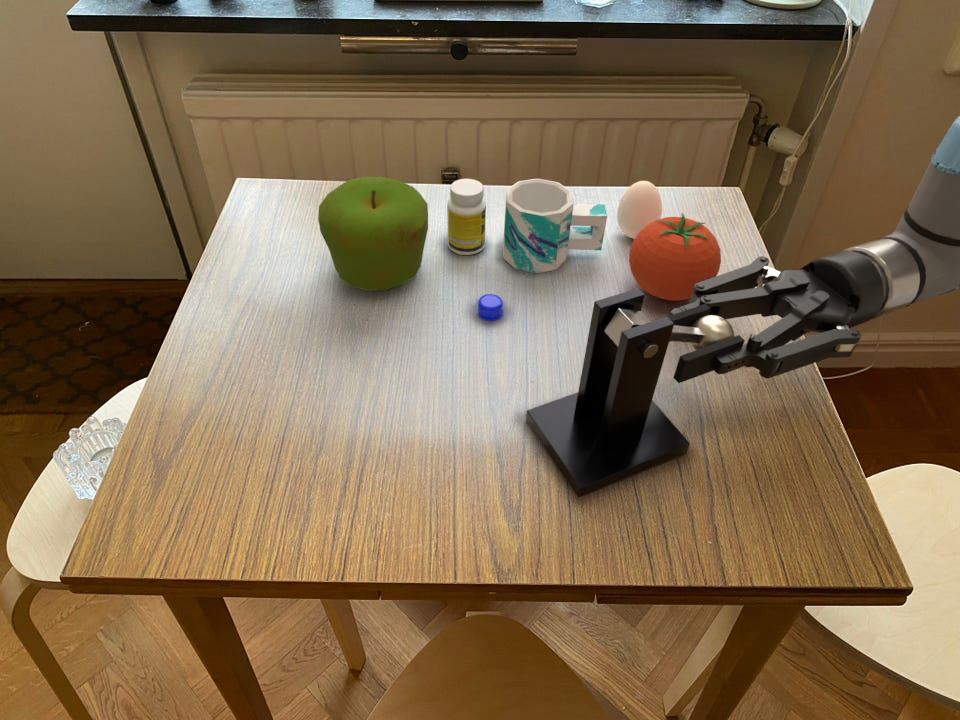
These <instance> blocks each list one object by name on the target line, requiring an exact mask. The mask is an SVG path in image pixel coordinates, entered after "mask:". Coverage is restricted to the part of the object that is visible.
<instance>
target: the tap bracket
mask: <svg viewBox="0 0 960 720" xmlns="http://www.w3.org/2000/svg"><path fill="white" fill-rule="evenodd" d="M645 296H646V294H645V293H644V292H643V291H642V290H641V289H640V288H639V287H637V288H634V289H631V290H628V291H624V292H621V293H618V294H614V295H611V296H608V297H605V298H601V299H598V300H595V301H594V303H593V308H592V313H591V319H590V325H589V328H588V329H589V330H588V334H587V335H588V336H587V341H586V347H585V352H584V357H583V362H582V363H583V364H582V369H581V374H580V380H579V385H578V391H577V392H575V393H573V394H570V395H569V394H568V395H567V396H563V397H561V398H557V399H556V400H555V399H554V400H553V401H550V402H547V403H544V404H541V405H538V406H536V407H533V408H530V409H527V410H526V414H525V421H526V423H527V424H528V426H529V427H530V429H531V430H532V431H533V433H534V435H535V436H536V437H537V439H538V441H539V442H540V443H541V445H542V446H543V448H544V450H545V451H546V452H547V453H548V455H549V456H550V458H551V459H552V461H553V462H554V464H555V465H556V467H557V468H558V469H559V471H560V473H561V474H562V475H563V477H564V478H565V480H566V481H567V483H568V485H569V486H570V487H571V489H572V490H573V492H574V493H575V495H576V496H577V497H578V498H581V497H583V496H586V495H589V494H591V493H593V492H596V491H598V490H601V489H604V488H605V487H608V486H610V485H613V484H615V483H618V482H621V481H622V480H626V479H627V478H630V477H632V476H636V475H637V474H640V473H642V472H645V471H648V470H650V469H652V468H654V467H657V466H659V465H662V464H664V463H666V462H669V461H672V460H673V459H676V458H679V457H681V456H683V455H686V454H687V453H688V450H689V448H690V445H691V443H690V441H689V440H688V439H687V438H686V437H685V436H684V435H683V434H682V432H681V431H680V430H679V429H678V428H677V426H676V425H675V424H674V423H673V422H672V421H671V420H670V419H669V417H668V416H667V415H666V414H665V413H664V412H663V411H662V409H661V408H660V407H659V406H658V405H657V404H656V402H655V401H654V400H653V399H654V395H655V392H656V388H657V385H658V383H659V382H658V381H659V378H660V374H661V371H662V368H663V364H664V362H665V357H666V355H667V351H668V347H669V343H670V342H669V340H670V337H671V333H672V330H673V327H674V323H673V322H672V321H671V320H670V319H669V318H668V317H667V316H664V317H662V318H661V317H660V318H658V319H655V320H652V321H651V322H649V323H646V324H643V325H640V326H637V327H634V328H631V329H628V330H625V331H622V332H621V337H620V341H619V346H617V345H616V344H615V343H614V342H613V340H612V339H611V338H610V337H609V336H608V335H607V334H606V333H605V331H604V330H605V329H606V327H607V326H608V324H609V322H610V321H611V319H612V318H613V316H614V314H615V313H616V311H617V310H618V308H620V309H628V310H637V311H641V312H642V309H643V305H644V301H645Z"/></svg>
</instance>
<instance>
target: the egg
mask: <svg viewBox="0 0 960 720" xmlns="http://www.w3.org/2000/svg"><path fill="white" fill-rule="evenodd" d="M658 189H659V188H657V186H656V185H655V184H654V183H652V182H650V181H648V180H639V181H637V182H634V183H632V184H631V185H630V186H629V187H628V188H627V189H626V191H625V192H624V193H623V194H622V196H621V198H620V200H619V203H618V207H617V210H616V220H617V224H618V227H619V229H620V230H621V232H622V233H623V234H624V235H625V236H626V237H628V238H630V239H632V240H634V239H635V237H636V236H637V234H638V233H639V232H640V231H641V230H642V229H643V228H644V227H645V226H646V225H648V224H649V223H651V222H653V221H655V220H659V219H662V214H663V213H662V212H663V202H662V198H661V194H660V191H659V190H658Z"/></svg>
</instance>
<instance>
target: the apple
mask: <svg viewBox="0 0 960 720" xmlns="http://www.w3.org/2000/svg"><path fill="white" fill-rule="evenodd" d="M428 205H429V204H428V202H427V201H426V200H425V199H424V197H423V195H422V194H421V193H420V192H419V191H418V190H417V188H415V187H414V186H412V185H410V184H408V183H405V182H404V181H401V180H399V179H393V178H389V177H384V176H362V177H357V178H352V179H347V180H346V181H344V182H343V183H342V184H340V185H339V186H337V187H336V188H334V189H333V190H331V191H330V192H328V193H327V194H326V195H325V197H324V198H323V200H322V201H321V203H320V204H319V205H318V215H317V216H318V217H317V219H318V220H317V221H318V225H319V231H320V234H321V236H322V238H323V240H324V242H325V244H326V246H327V249H328V250H329V254H330V257H331V260H332V263H333V266H334V269H335V271H336V273H337V275H338V277H339V278H340V279H341V280H342V281H343V282H345V283H346V284H347V285H348V286H350V287H353V288H357V289H360V290H364V291H387V290H389V289H393V288H396V287H399V286H402V285H403V284H405V283H407V282H409V281H411V280H412V279H414V278H415V277H416V276H417V274H418V272H419V270H420V269H421V267H422V262H423V261H422V260H423V255H424V250H425V245H426V240H427V235H428V230H429V206H428Z"/></svg>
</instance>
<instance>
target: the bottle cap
mask: <svg viewBox="0 0 960 720" xmlns="http://www.w3.org/2000/svg"><path fill="white" fill-rule="evenodd" d="M476 314H477V316H478V317H479V318H480V319H481V320H484V321H487V322H494V321H495V322H496V321H498V320H500V319H501V318H502V317H503V315H504V301H503V300H502V298H501V297H500V296H499V295H497V294H495V293H494V294H493V293H487V294H484V295H482V296H481V297H480V298H479V299H478V301H477V308H476Z"/></svg>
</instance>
